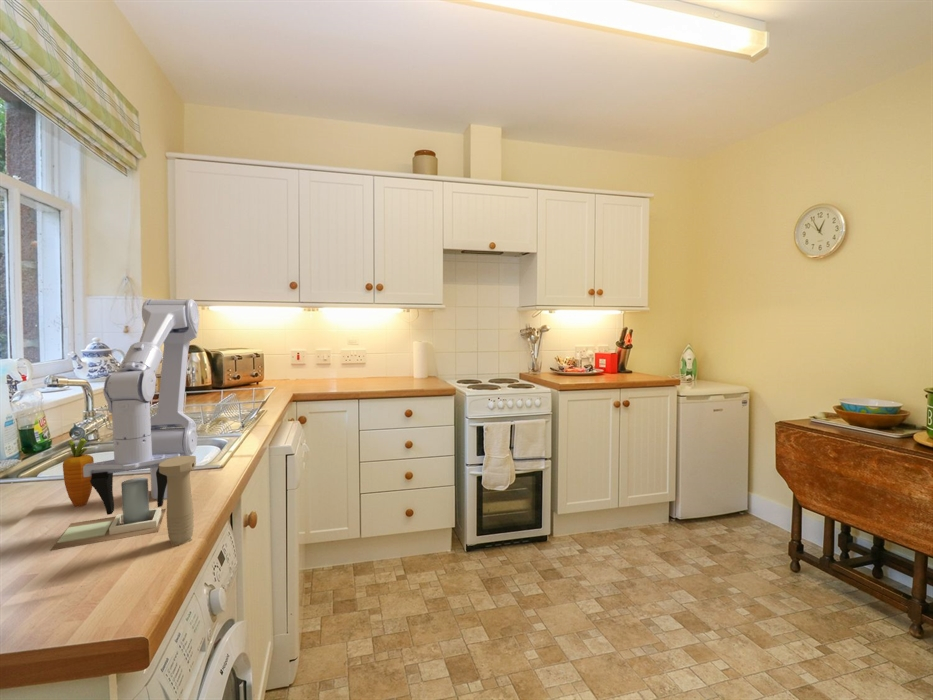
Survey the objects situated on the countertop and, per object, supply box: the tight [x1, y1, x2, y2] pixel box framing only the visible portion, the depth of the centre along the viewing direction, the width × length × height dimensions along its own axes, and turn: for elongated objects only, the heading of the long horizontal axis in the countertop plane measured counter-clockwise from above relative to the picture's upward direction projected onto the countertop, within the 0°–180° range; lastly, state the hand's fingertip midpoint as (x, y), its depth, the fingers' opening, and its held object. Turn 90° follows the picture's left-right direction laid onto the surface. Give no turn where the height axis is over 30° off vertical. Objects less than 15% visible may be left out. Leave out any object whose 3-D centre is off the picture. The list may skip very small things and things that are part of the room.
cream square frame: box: [109, 507, 162, 535], centre depth 89 cm, size 7×7×1 cm
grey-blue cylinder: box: [120, 477, 150, 525], centre depth 88 cm, size 4×4×8 cm
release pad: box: [56, 521, 112, 543], centre depth 85 cm, size 6×6×1 cm
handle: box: [159, 455, 197, 546], centre depth 81 cm, size 5×6×15 cm
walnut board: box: [49, 508, 167, 552], centre depth 87 cm, size 12×15×1 cm
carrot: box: [62, 438, 95, 507], centre depth 98 cm, size 5×5×15 cm
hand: (136, 508), depth 88 cm, fingers open, 7 cm apart
